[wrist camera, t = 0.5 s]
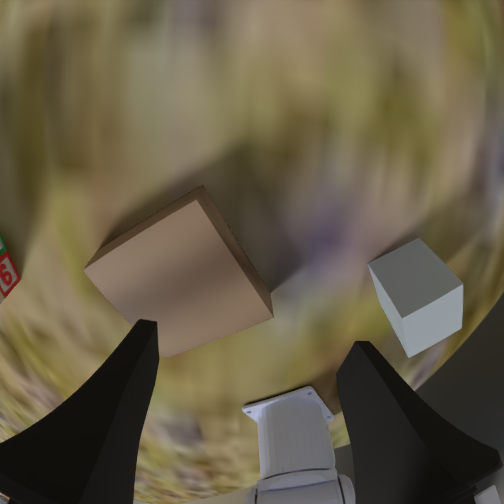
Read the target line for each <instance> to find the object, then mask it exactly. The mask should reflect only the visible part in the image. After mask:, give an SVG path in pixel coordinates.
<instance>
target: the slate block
mask: <svg viewBox="0 0 504 504" xmlns="http://www.w3.org/2000/svg"><path fill="white" fill-rule="evenodd" d="M368 266H369V269H370V272H371V275H372V279H373V282H374V285H375V289H376V292H377V295H378V299H379V302H380V305H381V307H382V309H383V310H384V312H385V314H386V316H387V318H388V319H389V321H390V323H391V325H392V327H393V329H394V331H395V333H396V334H397V336H398V338H399V340H400V342H401V344H402V346H403V348H404V350H405V352H406V354H407V356H408V358H410V357H412V356H414V355H416V354H417V353H419V352H421V351H423V350H425V349H427V348H429V347H430V346H432V345H434V344H436V343H437V342H439V341H441V340H443V339H444V338H446V337H448V336H449V335H451V334H453V333H454V332H456V331H458V330H459V329H461V328H462V313H463V283H462V282H461V281H460V280H459V278H458V277H457V276H456V275H455V274H454V273H453V272H452V271H451V270H450V269H449V268H448V266H447V265H446V264H445V263H444V262H443V261H442V260H441V259H440V258H439V257H438V256H437V255H436V254H435V253H434V252H433V251H432V250H431V249H430V248H429V247H428V246H427V245H426V244H425V243H424V242H423V241H422V240H421V239H420V238H419V237H418V238H416V239H415V240H413V241H411V242H409V243H407V244H405V245H403V246H401V247H399V248H397V249H395V250H393V251H391V252H389V253H387V254H385V255H383V256H381V257H379V258H377V259H375V260H373V261H371V262H369V263H368Z"/></svg>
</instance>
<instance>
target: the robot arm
mask: <svg viewBox="0 0 504 504" xmlns="http://www.w3.org/2000/svg"><path fill="white" fill-rule="evenodd" d="M158 364H159V346H158V326H157V321H151V320H145V319H139V320H138V321H137V322H136V323H135V325H134V326H133V327H132V329H131V330H130V332H129V333H128V334H127V335H126V337H125V338H124V339H123V341H122V342H121V343H120V344H119V346H118V347H117V348H116V349H115V350H114V351H113V353H112V354H111V355H110V356H109V357H108V359H107V360H106V361H105V362H104V363H103V364H102V365H101V366H100V367H99V369H98V370H97V371H96V372H95V373H94V374H93V375H92V376H91V377H90V378H89V379H88V380H87V381H86V382H85V383H84V384H83V385H82V386H81V387H80V388H79V389H78V390H77V391H76V392H75V393H73V394H72V395H71V396H70V397H69V398H68V399H67V400H66V401H64V402H63V403H62V404H61V405H59V406H58V407H57V408H56V409H54V410H53V411H52V412H51V413H49V414H48V415H47V416H45V417H44V418H42V419H41V420H39V421H38V422H36V423H35V424H33V425H32V426H30V427H29V428H27V429H26V430H24V431H22V432H21V433H19V434H17V435H15V436H13V437H11V438H10V439H8V440H6V441H4V442H2V443H0V492H1V493H2V494H4V495H5V496H7V497H9V498H10V499H8V498H6V497H4V496H2V495H0V504H133V497H134V482H135V472H136V463H137V455H138V447H139V442H140V437H141V433H142V429H143V425H144V421H145V418H146V414H147V411H148V407H149V403H150V400H151V396H152V393H153V389H154V386H155V381H156V375H157V370H158ZM336 377H337V387H338V394H339V399H340V403H341V407H342V411H343V415H344V419H345V423H346V427H347V431H348V435H349V438H350V442H351V447H352V453H353V462H354V472H355V493H354V488H353V485H352V482H351V480H350V479H349V478H348V477H346V476H345V475H344V474H341V475H338V476H337V472H336V469H334V466H335V456H334V451H333V446H332V441H331V436H330V432H329V427H328V422H330V421H333V420H334V419H335V417H334V415H333V414H332V413H331V411H330V410H329V409H328V407H327V406H326V405H325V403H324V402H323V401H322V399H321V398H320V397H319V395H318V394H317V393H316V391H315V390H314V389H313V387H311V386H307V387H304V388H301V389H298V390H295V391H292V392H289V393H286V394H283V395H280V396H277V397H273V398H270V399H267V400H263V401H260V402H257V403H253V404H249V405H246V406H243V407H242V411H243V412H244V413H246V414H247V415H248V416H249V417H251V418H252V419H253V420H255V421H256V422H257V423H258V439H259V456H260V473H261V480H258V481H257V488H252V489H251V490H250V492H249V493H248V494H247V495H246V499H245V504H501V503H500V499H499V496H498V493H497V490H496V487H495V485H493V486H491V487H490V488H488V489H486V490H484V491H483V492H481V493H480V494H478V495H476V496H475V497H474V496H473V493H474V492H476V491H477V488H476V484H478V483H479V482H481V481H483V480H484V479H486V478H487V477H489V476H490V475H492V474H493V473H495V472H496V471H498V470H499V469H501V468H502V466H503V464H502V461H501V458H500V456H499V453H498V451H497V450H496V449H494V448H492V447H490V446H487V445H485V444H483V443H481V442H479V441H477V440H475V439H473V438H472V437H470V436H468V435H466V434H465V433H463V432H462V431H460V430H459V429H457V428H456V427H455V426H453V425H452V424H450V423H449V422H448V421H446V420H445V419H444V418H442V417H441V416H440V415H439V414H438V413H437V412H435V411H434V410H433V409H432V408H431V407H430V406H429V405H428V404H426V403H425V402H424V401H423V400H422V399H421V398H420V397H419V396H418V395H417V394H416V393H415V392H414V391H413V390H412V388H411V387H410V386H409V385H408V384H407V383H406V382H405V381H404V380H403V379H402V378H401V376H400V375H399V374H398V373H397V372H396V371H395V370H394V368H393V367H392V366H391V365H390V364H389V363H388V362H387V360H386V359H385V358H384V357H383V356H382V355H381V354H380V352H379V351H378V350H377V349H376V348H375V347H374V346H373V345H372V344H371V343H370V342H369V341H355V343H354V344H353V346H352V348H351V350H350V352H349V353H348V355H347V357H346V358H345V360H344V362H343V363H342V365H341V367H340V368H339V370H338V372H337V373H336Z"/></svg>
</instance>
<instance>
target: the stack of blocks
mask: <svg viewBox="0 0 504 504" xmlns="http://www.w3.org/2000/svg"><path fill="white" fill-rule="evenodd" d="M20 280H21V279H20V277H19V275H18V273H17V270H16V268H15V266H14V264H13V262H12V260H11V258H10V256H9V253H8V251H7V250H6V247H5V245H4V243H3V240H2V238H1V235H0V303H1V302H2V301H3V299H5V298H6V297H7V296H8V294H9V293H10V292H11V290H12V289H13V288H14V287H15V286H16V285H17V284H18V282H19V281H20Z"/></svg>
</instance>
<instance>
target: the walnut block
mask: <svg viewBox="0 0 504 504" xmlns="http://www.w3.org/2000/svg"><path fill="white" fill-rule="evenodd" d="M83 271H84V272H85V274H86V275H87V276H88V277H89V278H90V280H91V281H92V282H93V283H94V284H95V286H96V287H97V288H98V289H99V290H100V291H101V292H102V294H103V295H104V296H105V297H106V298H107V299H108V300H109V302H110V303H111V304H112V305H113V306H114V307H115V308H116V309H117V310H118V311H119V313H120V314H121V315H122V316H123V317H124V318H125V319H126V320H127V321H128V322H129V323H130V324H131V325H132V326H134V325H135V323H136V322H137V321H138V320H139V319H145V320H151V321H157V326H158V346H159V353H160V354H161V355H162V356H163V357H164V358H167V357H170V356H173V355H176V354H179V353H182V352H184V351H187V350H190V349H193V348H196V347H199V346H201V345H204V344H207V343H210V342H212V341H215V340H218V339H220V338H223V337H226V336H228V335H231V334H234V333H236V332H239V331H241V330H244V329H246V328H249V327H251V326H254V325H256V324H259V323H261V322H264V321H266V320H269V319H271V318H274V316H273V309H272V302H271V295H270V292H269V290H268V289H267V287H266V286H265V284H264V282H263V281H262V279H261V278H260V276H259V274H258V273H257V271H256V270H255V268H254V267H253V265H252V263H251V262H250V260H249V259H248V257H247V255H246V254H245V252H244V251H243V249H242V247H241V246H240V244H239V243H238V241H237V239H236V238H235V236H234V235H233V233H232V232H231V230H230V228H229V227H228V225H227V224H226V222H225V220H224V219H223V217H222V216H221V214H220V212H219V211H218V209H217V208H216V206H215V204H214V203H213V201H212V200H211V198H210V196H209V195H208V193H207V192H206V190H205V188H204V187H203V185H202V186H200V187H198V188H197V189H195V190H193V191H191V192H190V193H188V194H186V195H184V196H183V197H181V198H179V199H178V200H176V201H174V202H173V203H171V204H169V205H168V206H166V207H164V208H163V209H161V210H159V211H158V212H156V213H154V214H153V215H151V216H149V217H148V218H146V219H145V220H143V221H141V222H140V223H138V224H137V225H135V226H134V227H132V228H130V229H129V230H127V231H126V232H124V233H123V234H121V235H120V236H118V237H117V238H115V239H114V240H112V241H111V242H109V243H108V244H106V245H105V246H103V247H102V248H100V249H99V250H98V251H97V252H96V253H95V254H94V256H93V257H92V258H91V260H90V261H89V262H88V264H87V265H86V266H85V268H84V269H83Z"/></svg>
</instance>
